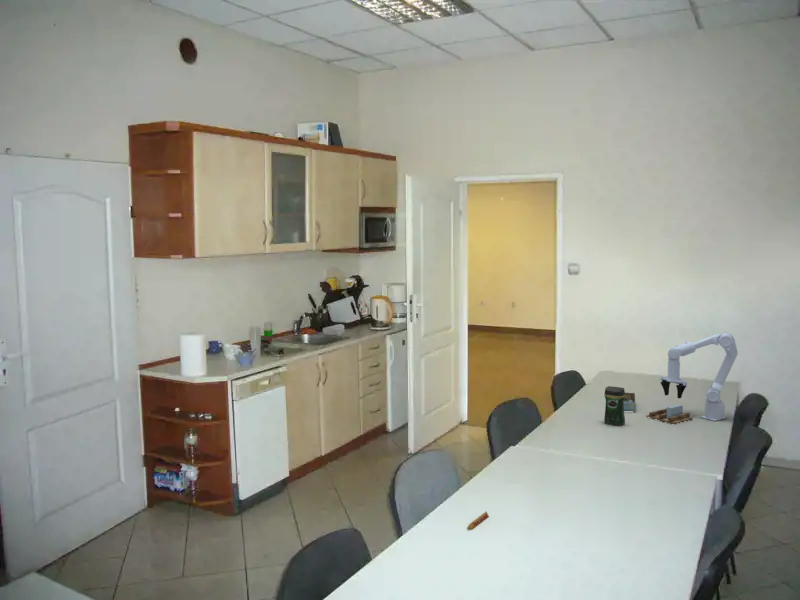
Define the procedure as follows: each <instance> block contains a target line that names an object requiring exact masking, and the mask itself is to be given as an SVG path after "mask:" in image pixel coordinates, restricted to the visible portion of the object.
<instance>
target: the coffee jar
mask: <svg viewBox="0 0 800 600" xmlns="http://www.w3.org/2000/svg"><path fill="white" fill-rule="evenodd" d="M625 393H626V391H625V387H619V386H612V385H611V386H606V387H605V388H604V398H605V408H604V409H605V410H604V417H603V418H604V419H603V422H604V423H605V424H606V425H611V426H623V425H625V423H626V417H625V416H626V415H625V412H624V398H625Z"/></svg>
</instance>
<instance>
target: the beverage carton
mask: <svg viewBox="0 0 800 600" xmlns="http://www.w3.org/2000/svg"><path fill="white" fill-rule="evenodd" d="M624 411H633V412H632V413H635V412H636V395H635V392H625V398H624Z"/></svg>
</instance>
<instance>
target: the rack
mask: <svg viewBox="0 0 800 600" xmlns="http://www.w3.org/2000/svg"><path fill="white" fill-rule="evenodd" d="M690 415H691V413H690V412H686V413H682V414H681V415H677V416H673V417H669V418H668V419H667V407H666V408H661V409H658V410H653V411H650V412H649V413H648V414H647V415H646V417H650V418H653V419H652V420H654V419H657V420H660V421H659V422H661V421H663V422H662V423H665V422H667V423H666V424H668V423H670V424H669V425H672V424H675V425H678V424H677V423H679V424H681V423H680V422H683V423H685V422H684V421H686V422H689V421H688V420H690V421H693V420H694V419H693V417H691V416H690ZM646 417H645V418H646ZM650 418H649V419H650ZM692 419H693V420H692ZM657 420H656V421H657Z"/></svg>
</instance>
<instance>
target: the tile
mask: <svg viewBox="0 0 800 600" xmlns="http://www.w3.org/2000/svg"><path fill="white" fill-rule="evenodd" d="M683 407H684V405H682V404H675V405H670V406H666V408H667V419H668V418H669V417H673V416H677V415H681V414H683Z"/></svg>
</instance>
